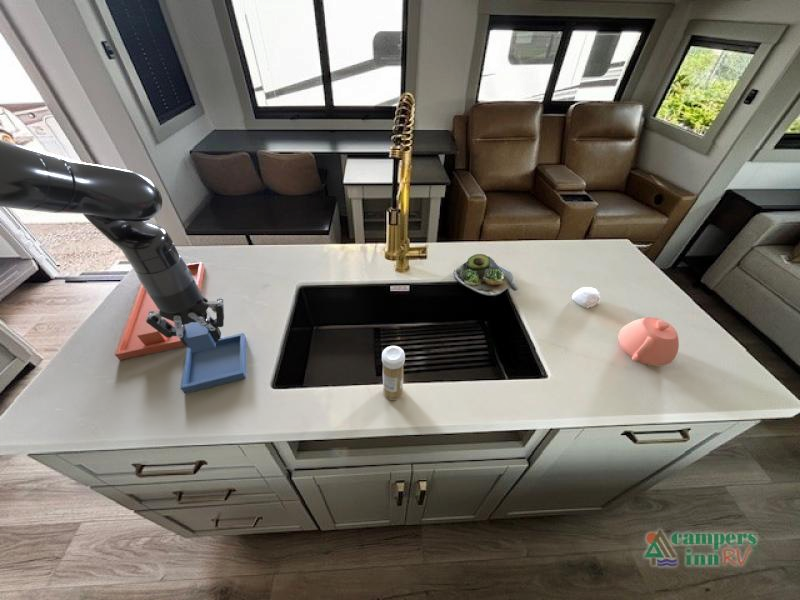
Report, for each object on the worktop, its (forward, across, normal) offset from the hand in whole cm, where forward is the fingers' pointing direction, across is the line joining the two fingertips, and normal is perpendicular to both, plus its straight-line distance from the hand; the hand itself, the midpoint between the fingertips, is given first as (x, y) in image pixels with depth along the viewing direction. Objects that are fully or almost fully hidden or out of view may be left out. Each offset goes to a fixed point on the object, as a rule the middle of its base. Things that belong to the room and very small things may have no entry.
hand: (204, 341), depth 71 cm
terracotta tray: (+8, -14, +25) cm, 30 cm away
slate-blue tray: (+8, 0, 0) cm, 8 cm away
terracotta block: (+8, -14, +12) cm, 20 cm away
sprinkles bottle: (+8, +37, -20) cm, 43 cm away
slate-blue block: (0, 0, 0) cm, 0 cm away
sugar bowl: (+9, +100, -29) cm, 104 cm away
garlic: (+9, +101, -9) cm, 102 cm away
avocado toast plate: (+8, +77, +10) cm, 78 cm away
